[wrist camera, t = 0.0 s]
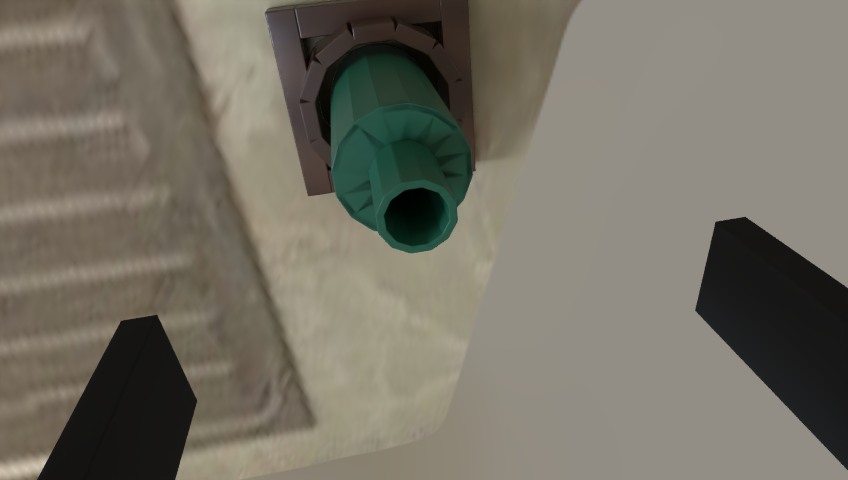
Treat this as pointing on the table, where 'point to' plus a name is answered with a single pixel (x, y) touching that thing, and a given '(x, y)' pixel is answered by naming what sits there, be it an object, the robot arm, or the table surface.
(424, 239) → the bottle
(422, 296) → the table surface
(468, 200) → the table surface
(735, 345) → the robot arm
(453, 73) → the holder
